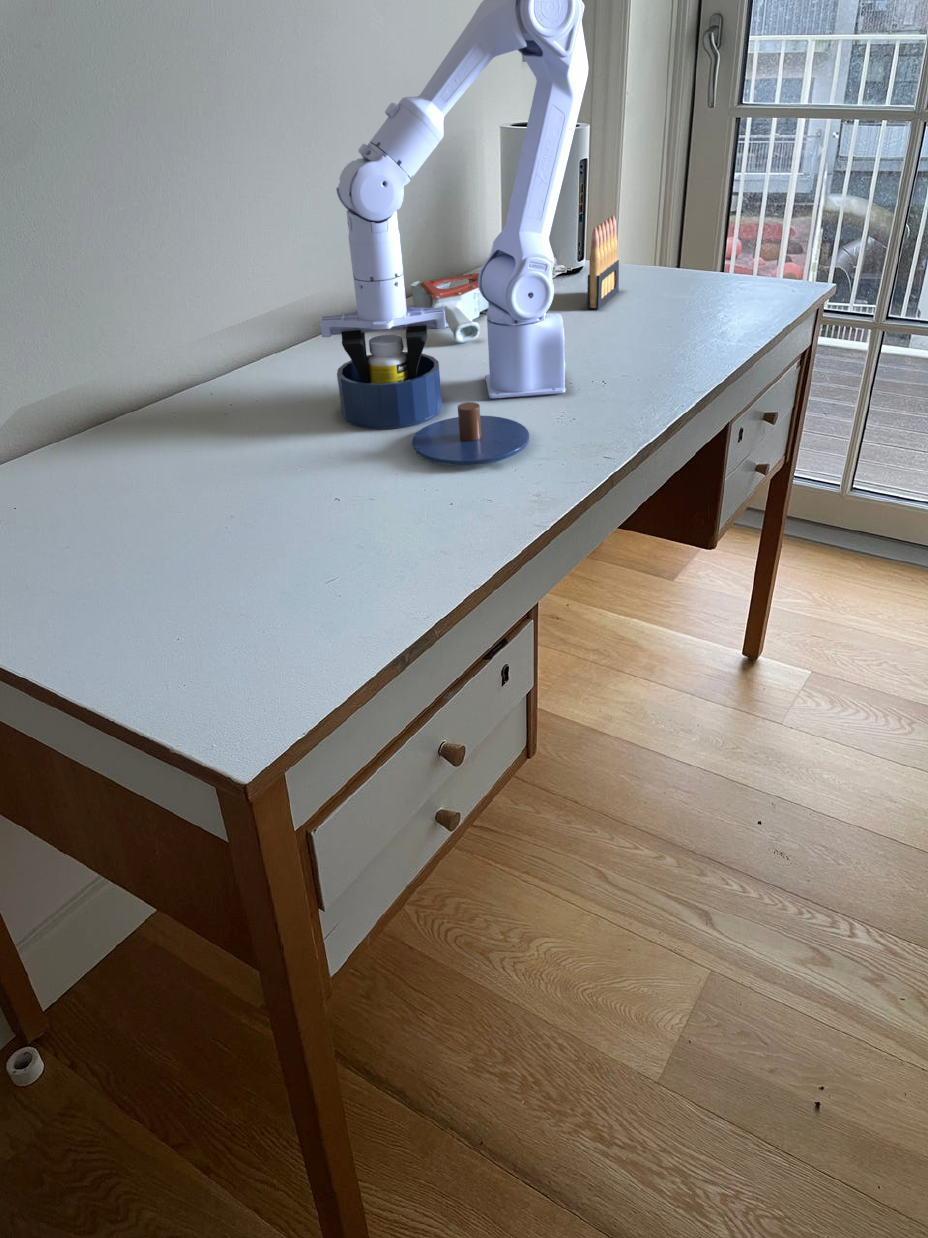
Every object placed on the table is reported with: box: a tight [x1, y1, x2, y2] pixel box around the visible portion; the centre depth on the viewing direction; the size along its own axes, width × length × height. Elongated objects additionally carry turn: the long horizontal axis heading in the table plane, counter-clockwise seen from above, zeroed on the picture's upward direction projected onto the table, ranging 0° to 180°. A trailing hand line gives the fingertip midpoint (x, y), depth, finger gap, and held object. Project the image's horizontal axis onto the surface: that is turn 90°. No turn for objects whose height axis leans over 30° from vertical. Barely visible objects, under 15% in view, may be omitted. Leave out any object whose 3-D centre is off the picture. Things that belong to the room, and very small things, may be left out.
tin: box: [336, 351, 443, 430], centre depth 119 cm, size 12×12×5 cm
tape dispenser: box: [410, 272, 489, 344], centre depth 149 cm, size 18×5×20 cm
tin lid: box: [411, 401, 530, 466], centre depth 108 cm, size 13×13×5 cm
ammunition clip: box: [586, 214, 620, 311], centre depth 152 cm, size 11×2×12 cm, turn 155°
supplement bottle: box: [368, 334, 409, 384], centre depth 118 cm, size 5×5×8 cm
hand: (390, 390), depth 119 cm, fingers closed on supplement bottle, 5 cm apart
